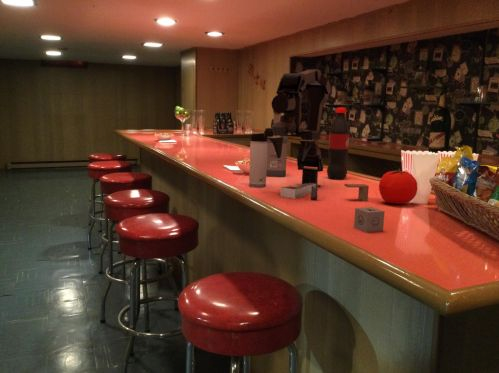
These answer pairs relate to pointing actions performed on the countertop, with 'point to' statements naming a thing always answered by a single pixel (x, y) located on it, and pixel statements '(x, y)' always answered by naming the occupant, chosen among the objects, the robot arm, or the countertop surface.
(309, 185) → the square scoop
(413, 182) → the tomato
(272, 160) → the liquor
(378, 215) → the dice cube
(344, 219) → the countertop surface
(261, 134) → the travel mug
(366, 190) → the block
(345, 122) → the cola bottle
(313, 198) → the dark round cylinder
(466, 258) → the countertop surface
